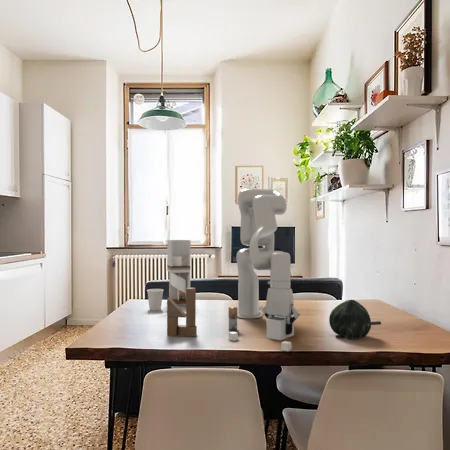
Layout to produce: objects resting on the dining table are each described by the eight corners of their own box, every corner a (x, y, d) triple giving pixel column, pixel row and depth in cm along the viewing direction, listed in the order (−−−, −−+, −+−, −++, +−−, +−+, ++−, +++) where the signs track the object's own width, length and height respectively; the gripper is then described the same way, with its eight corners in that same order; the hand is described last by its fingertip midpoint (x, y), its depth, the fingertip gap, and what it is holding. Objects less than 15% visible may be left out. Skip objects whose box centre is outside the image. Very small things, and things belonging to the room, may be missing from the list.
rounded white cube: (232, 338, 154) (232, 331, 154) (237, 339, 153) (237, 332, 153) (228, 339, 152) (228, 332, 152) (233, 340, 151) (233, 333, 151)
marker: (285, 348, 141) (285, 341, 141) (291, 349, 139) (291, 342, 139) (281, 350, 139) (281, 342, 139) (287, 351, 137) (287, 343, 137)
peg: (232, 328, 170) (232, 306, 170) (239, 330, 168) (239, 307, 168) (226, 330, 167) (226, 307, 167) (233, 331, 165) (233, 308, 165)
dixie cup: (162, 311, 208) (162, 291, 208) (145, 311, 208) (145, 290, 208) (164, 308, 216) (164, 288, 217) (148, 308, 217) (148, 288, 217)
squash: (342, 315, 170) (332, 290, 162) (379, 322, 160) (371, 295, 153) (330, 344, 162) (319, 319, 154) (368, 352, 152) (359, 326, 144)
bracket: (360, 318, 194) (360, 312, 194) (381, 325, 180) (381, 318, 180) (332, 320, 189) (332, 314, 189) (352, 327, 175) (352, 321, 175)
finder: (280, 332, 163) (280, 313, 164) (293, 335, 160) (293, 315, 160) (266, 338, 155) (266, 318, 156) (280, 340, 152) (280, 320, 152)
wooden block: (169, 334, 161) (169, 287, 161) (196, 334, 160) (196, 287, 160) (166, 336, 157) (167, 288, 158) (194, 337, 156) (195, 288, 156)
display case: (167, 303, 232) (167, 240, 233) (185, 302, 236) (186, 239, 236) (170, 306, 222) (171, 240, 222) (190, 305, 225) (190, 240, 225)
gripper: (255, 284, 160) (255, 331, 160) (296, 287, 150) (296, 338, 149) (266, 282, 166) (266, 327, 166) (305, 285, 156) (305, 334, 155)
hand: (280, 332), depth 158 cm, fingers open, 6 cm apart
